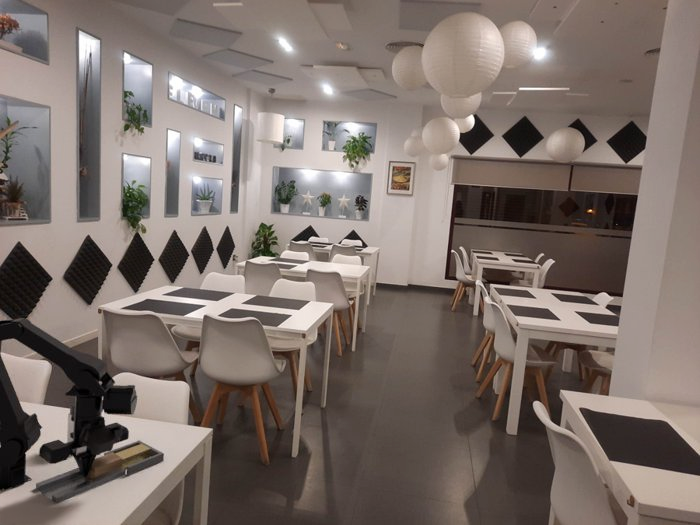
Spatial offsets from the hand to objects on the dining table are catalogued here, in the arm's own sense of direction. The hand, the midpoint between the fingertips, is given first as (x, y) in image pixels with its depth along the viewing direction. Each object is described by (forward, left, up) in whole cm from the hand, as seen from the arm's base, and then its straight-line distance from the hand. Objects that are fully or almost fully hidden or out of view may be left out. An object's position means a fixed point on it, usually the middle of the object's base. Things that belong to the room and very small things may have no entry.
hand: (84, 476), depth 120 cm
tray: (0, +13, -2) cm, 13 cm away
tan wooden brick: (0, +5, -1) cm, 5 cm away
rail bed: (0, -1, -2) cm, 2 cm away
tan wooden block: (0, +14, -1) cm, 14 cm away
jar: (-18, +10, -2) cm, 21 cm away
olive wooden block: (0, +10, -1) cm, 10 cm away
